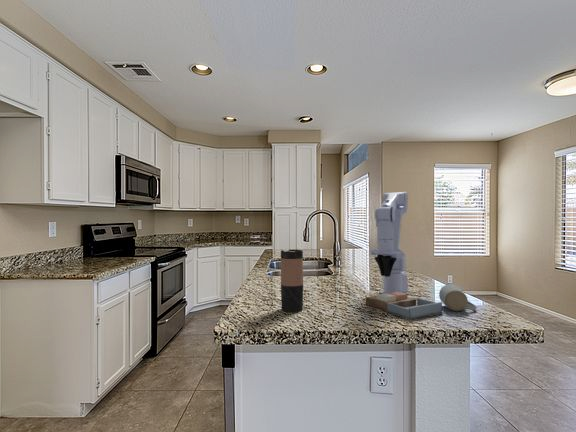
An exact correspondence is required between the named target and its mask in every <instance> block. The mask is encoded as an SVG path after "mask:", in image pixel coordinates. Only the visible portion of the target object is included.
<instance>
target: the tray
mask: <svg viewBox="0 0 576 432" xmlns="http://www.w3.org/2000/svg"><path fill="white" fill-rule="evenodd" d="M386 312H387V313H389V314H391V313H392V315H394V314H395V315H394V316H397V315H398V316H397V317H400V316H401V318H403V317H404V319H406V318H407V320H409V319H412V320H417V319H421V318H426V317H429V316H430V315H431V316H435V314H436V315H440V313H441V314H443V303H442V301H439V302H436V301H432V300H427V299H424V298H419V297H417V298H416V305H414V306H409V307H401V306H398V305H394V304H391V303H387V311H386ZM431 316H430V317H431ZM416 318H417V319H416Z"/></svg>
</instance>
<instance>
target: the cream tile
mask: <svg viewBox="0 0 576 432" xmlns="http://www.w3.org/2000/svg"><path fill="white" fill-rule="evenodd" d="M376 296H377V299H378V300H381V301H384V302H390V301H396V296H395V295H391V294H387V293H385V294H382V293H379V294H376Z"/></svg>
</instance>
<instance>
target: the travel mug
mask: <svg viewBox="0 0 576 432" xmlns="http://www.w3.org/2000/svg"><path fill="white" fill-rule="evenodd" d="M303 253H304V251H303V249H289V250H288V251H287V250H286V251H285V250H284V249H283V250H282V249H281V250H280V298H281V299H280V301H281V302H280V303H281V310H282V311H283V312H284V313H298V312H299V313H300V312H302V311H303V309H304V306H303V305H304V254H303Z"/></svg>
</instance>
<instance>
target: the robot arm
mask: <svg viewBox="0 0 576 432" xmlns="http://www.w3.org/2000/svg"><path fill="white" fill-rule="evenodd" d="M408 200H409V197H408V192H407V191H399V192H398V191H397V192H396V191H395V192H384V193H383V195H382V203H381V205H380V207H379V206H378V207H377V208H375V212H374V217H375V226H376V232H377V233H376V234H377V235H376V236H377V237H376V238H377V242H376V243H377V244H376V245H377V246H376V247H377V249H369V255H371V256H375V257H374V260H375V261H376V263H377V265H378V268H379V269H378V270H379V272H380V275H381V277H382V281H383V282H382V283H383V285H382V286H383V290H379V291H378V293H379V294H385V293H387V294H388V293H391V292H401V293H405V294H407V295H410V292H408V291H409V289H408V286H409V285H408V275H407V274H406V272H404V271H406V253H405V252H404V251H403V250H402V249H401V248H400V240H401V239H400V238H401V237H400V235H401V226H402V224H401V223H402V218H403V216H404V214H406V213H407V211H408V202H409V201H408Z"/></svg>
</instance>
